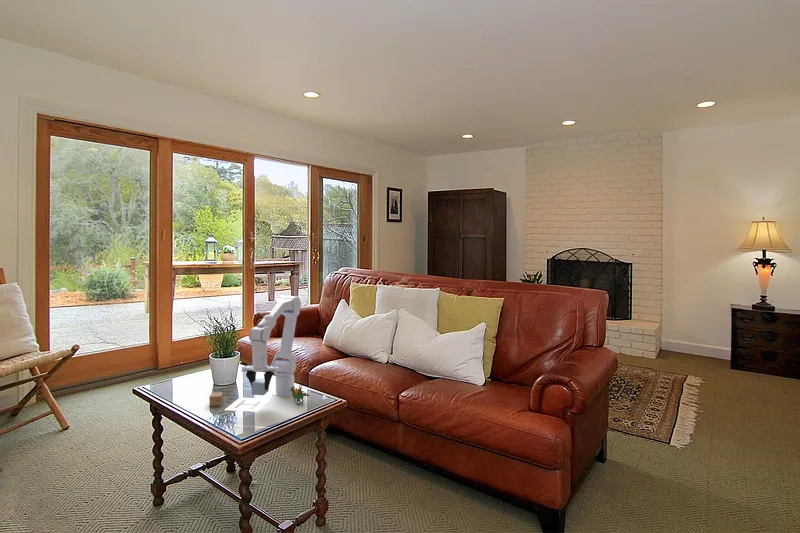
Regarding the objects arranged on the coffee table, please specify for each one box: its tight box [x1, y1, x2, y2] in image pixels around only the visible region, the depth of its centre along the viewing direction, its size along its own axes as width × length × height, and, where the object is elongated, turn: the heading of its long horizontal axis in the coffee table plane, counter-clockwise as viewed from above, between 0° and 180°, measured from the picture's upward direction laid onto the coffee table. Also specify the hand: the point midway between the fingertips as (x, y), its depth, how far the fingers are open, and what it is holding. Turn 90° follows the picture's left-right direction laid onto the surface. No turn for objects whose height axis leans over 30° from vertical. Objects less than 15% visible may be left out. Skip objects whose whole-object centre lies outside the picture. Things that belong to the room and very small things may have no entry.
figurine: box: [289, 384, 311, 406], centre depth 188 cm, size 3×12×8 cm, turn 55°
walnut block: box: [208, 391, 224, 407], centre depth 187 cm, size 4×4×4 cm
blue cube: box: [251, 378, 270, 396], centre depth 181 cm, size 5×5×5 cm
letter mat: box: [224, 397, 271, 413], centre depth 186 cm, size 14×14×1 cm
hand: (260, 389), depth 181 cm, fingers closed on blue cube, 5 cm apart
